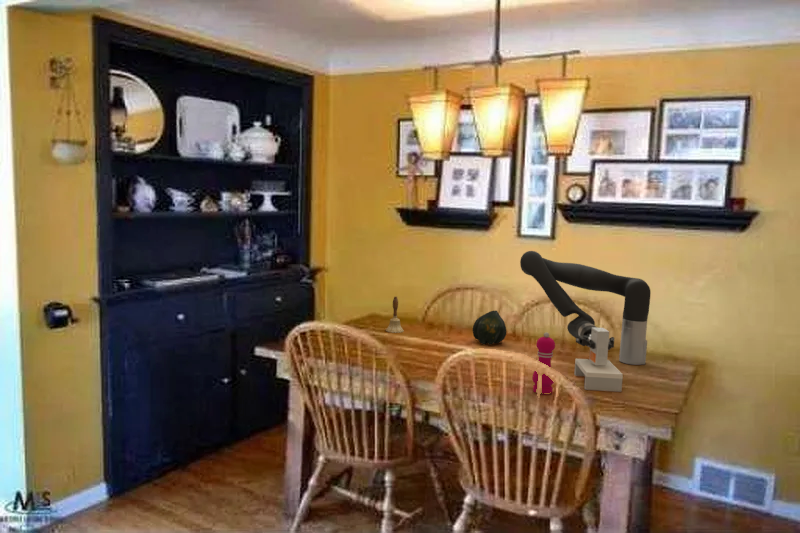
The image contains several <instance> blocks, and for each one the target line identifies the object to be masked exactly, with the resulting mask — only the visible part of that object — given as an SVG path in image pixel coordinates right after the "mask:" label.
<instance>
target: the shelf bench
mask: <svg viewBox="0 0 800 533" xmlns="http://www.w3.org/2000/svg"><path fill="white" fill-rule="evenodd" d="M589 359H590V358H575V361H574V362H575V363H574V374H573V375H574V376H575V377H576V376H577V377H584V387H583V388H584V390H585V391H587V390H588V391H600V392H601V391H605V392H621V393H622V391H623V390H622V389H623V379H624V378H623V375H624V373H622V372H621V371H620V370H619V369H618V368H617V367H616V366H615V365H614V364H613V363H612V362H611V361H610V359H607V365H595V364H594V363H593V362H592V361H590V360H589Z"/></svg>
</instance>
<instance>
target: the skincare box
mask: <svg viewBox="0 0 800 533" xmlns="http://www.w3.org/2000/svg"><path fill="white" fill-rule="evenodd" d="M596 327H597V326H596ZM596 327H592V332H591V340H592V341H593V342H594V343H595V349H592V348H590V347H589V358H588V359H589V360H590V361H592V362H593V363H594V364H595V365H607V360H608V355H609V354H608V353H609V350H608V343H609V338H610V331H609V330H608V329H606V328H604V327H597V328H596Z"/></svg>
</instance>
